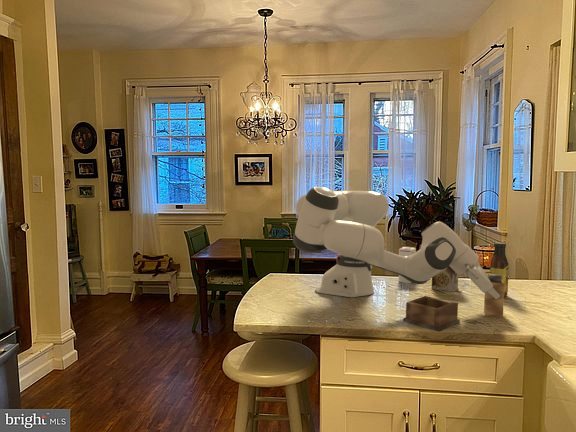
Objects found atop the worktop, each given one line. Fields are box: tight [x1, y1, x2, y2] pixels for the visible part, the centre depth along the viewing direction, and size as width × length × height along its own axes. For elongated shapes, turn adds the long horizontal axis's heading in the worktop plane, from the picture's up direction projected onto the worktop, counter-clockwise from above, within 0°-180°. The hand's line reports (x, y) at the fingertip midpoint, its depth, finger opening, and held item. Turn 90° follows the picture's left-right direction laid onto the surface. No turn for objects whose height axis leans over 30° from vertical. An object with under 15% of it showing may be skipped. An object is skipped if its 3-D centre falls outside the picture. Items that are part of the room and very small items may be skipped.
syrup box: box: [398, 246, 417, 284], centre depth 189 cm, size 6×6×14 cm
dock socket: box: [403, 295, 461, 332], centre depth 136 cm, size 12×12×6 cm
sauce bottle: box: [489, 242, 510, 298], centre depth 167 cm, size 7×6×20 cm
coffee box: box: [431, 266, 459, 292], centre depth 176 cm, size 9×6×16 cm
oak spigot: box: [483, 273, 505, 319], centre depth 143 cm, size 5×5×13 cm
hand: (496, 293), depth 143 cm, fingers open, 7 cm apart
